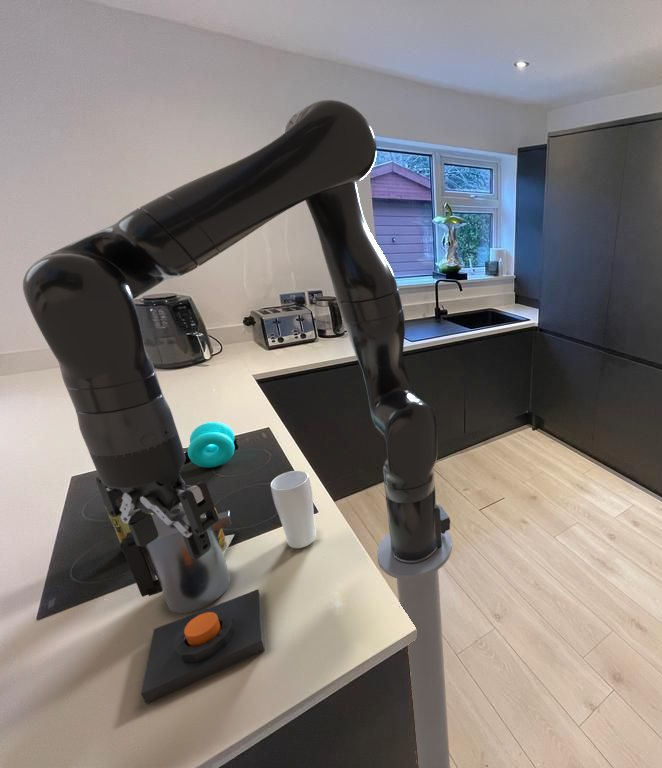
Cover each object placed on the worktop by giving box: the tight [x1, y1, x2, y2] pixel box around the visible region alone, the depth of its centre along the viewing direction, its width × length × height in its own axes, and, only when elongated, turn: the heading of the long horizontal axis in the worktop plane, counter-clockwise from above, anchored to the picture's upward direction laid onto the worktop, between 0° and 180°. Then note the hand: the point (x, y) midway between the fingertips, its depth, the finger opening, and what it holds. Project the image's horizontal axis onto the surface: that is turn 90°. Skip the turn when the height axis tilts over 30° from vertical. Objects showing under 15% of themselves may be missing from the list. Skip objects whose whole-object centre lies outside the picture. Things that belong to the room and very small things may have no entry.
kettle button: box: [184, 612, 221, 646], centre depth 60 cm, size 4×4×2 cm
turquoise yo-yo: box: [187, 421, 235, 468], centre depth 109 cm, size 10×10×10 cm
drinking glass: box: [269, 470, 317, 549], centre depth 80 cm, size 7×7×15 cm
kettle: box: [119, 505, 233, 614], centre depth 68 cm, size 14×9×17 cm, turn 123°
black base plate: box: [140, 589, 266, 705], centre depth 61 cm, size 14×11×4 cm
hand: (174, 547), depth 51 cm, fingers open, 8 cm apart
